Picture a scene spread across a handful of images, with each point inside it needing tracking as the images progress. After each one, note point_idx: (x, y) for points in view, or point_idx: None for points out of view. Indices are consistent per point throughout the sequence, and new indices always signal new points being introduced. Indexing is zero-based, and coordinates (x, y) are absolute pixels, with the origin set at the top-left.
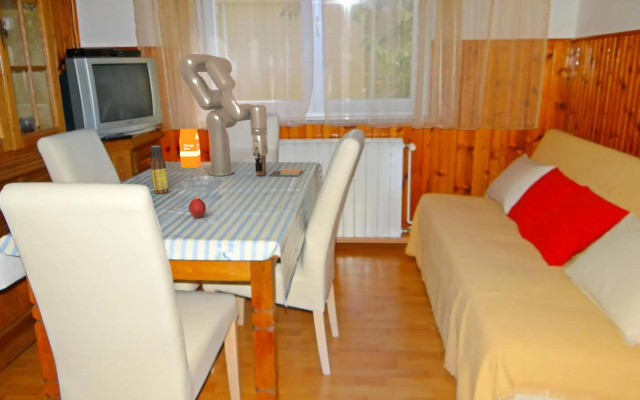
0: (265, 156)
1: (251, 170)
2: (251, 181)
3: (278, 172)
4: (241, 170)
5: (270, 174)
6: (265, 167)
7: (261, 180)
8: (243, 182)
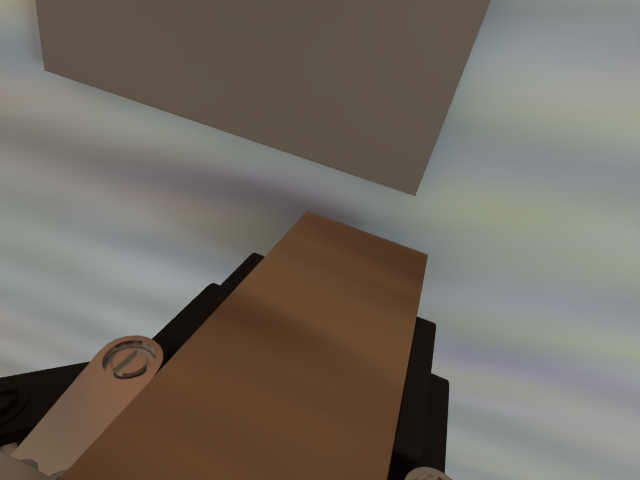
0: (105, 432)
1: (41, 296)
2: (587, 397)
3: (142, 5)
4: (59, 361)
5: (282, 141)
6: (291, 268)
7: (572, 283)
8: (609, 474)
